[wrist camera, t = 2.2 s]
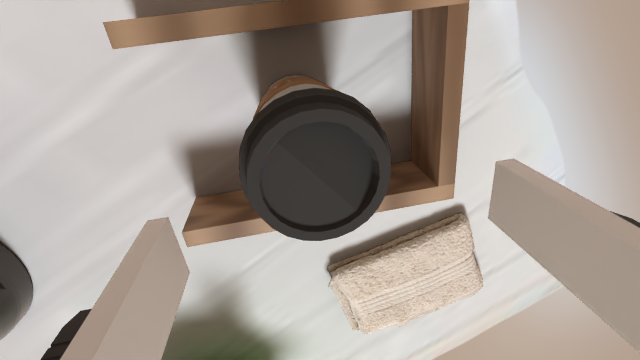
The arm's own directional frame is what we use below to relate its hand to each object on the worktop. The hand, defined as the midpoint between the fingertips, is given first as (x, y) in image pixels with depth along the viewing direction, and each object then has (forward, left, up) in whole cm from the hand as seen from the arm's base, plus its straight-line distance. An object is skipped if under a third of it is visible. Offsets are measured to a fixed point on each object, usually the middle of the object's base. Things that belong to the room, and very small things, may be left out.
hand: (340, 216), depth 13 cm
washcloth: (+20, -14, -19) cm, 31 cm away
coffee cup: (0, 0, -19) cm, 19 cm away
